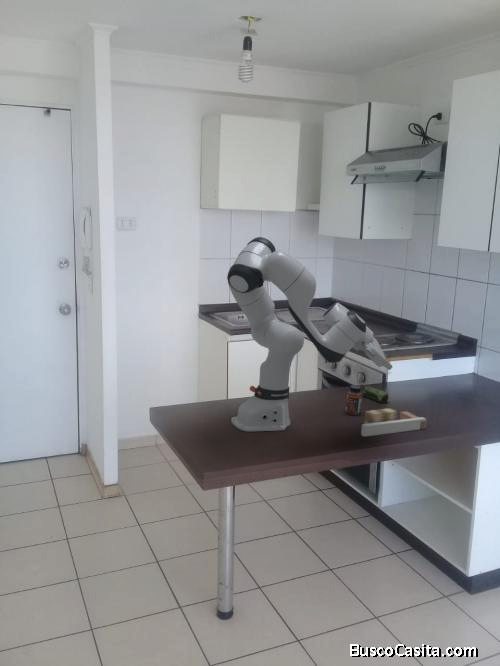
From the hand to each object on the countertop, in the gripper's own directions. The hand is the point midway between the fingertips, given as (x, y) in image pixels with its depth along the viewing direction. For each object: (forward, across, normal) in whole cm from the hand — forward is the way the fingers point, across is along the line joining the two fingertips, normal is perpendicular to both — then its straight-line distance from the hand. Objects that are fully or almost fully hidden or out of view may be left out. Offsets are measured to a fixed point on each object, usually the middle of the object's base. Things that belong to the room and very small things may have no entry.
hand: (388, 363), depth 217 cm
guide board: (+21, +6, +20) cm, 29 cm away
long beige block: (+19, +4, +21) cm, 29 cm away
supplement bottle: (+14, +20, +28) cm, 37 cm away
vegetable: (+25, +42, +22) cm, 54 cm away
